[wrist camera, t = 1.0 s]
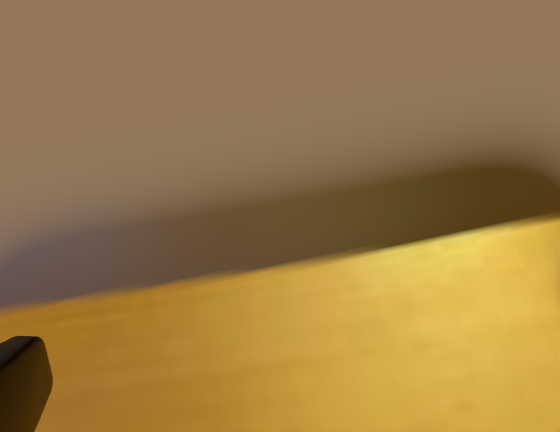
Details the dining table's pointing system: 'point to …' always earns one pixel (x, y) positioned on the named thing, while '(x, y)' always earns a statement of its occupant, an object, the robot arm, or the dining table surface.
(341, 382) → the dining table surface
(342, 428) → the dining table surface
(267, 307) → the dining table surface
